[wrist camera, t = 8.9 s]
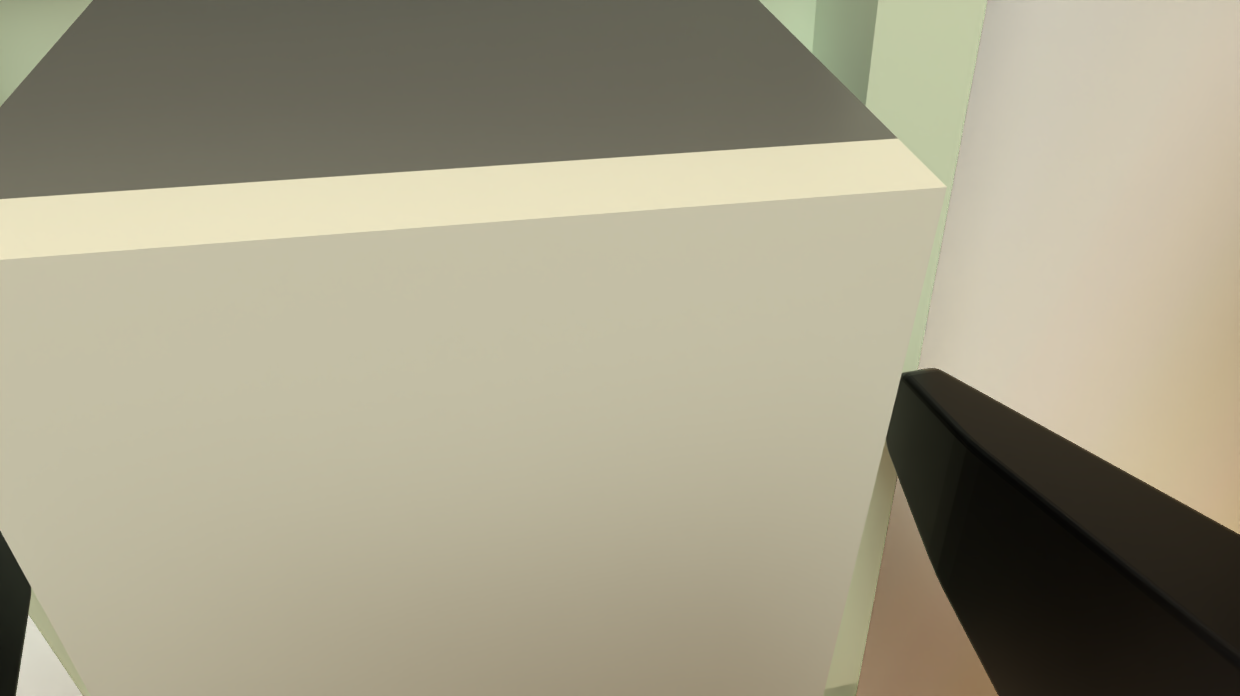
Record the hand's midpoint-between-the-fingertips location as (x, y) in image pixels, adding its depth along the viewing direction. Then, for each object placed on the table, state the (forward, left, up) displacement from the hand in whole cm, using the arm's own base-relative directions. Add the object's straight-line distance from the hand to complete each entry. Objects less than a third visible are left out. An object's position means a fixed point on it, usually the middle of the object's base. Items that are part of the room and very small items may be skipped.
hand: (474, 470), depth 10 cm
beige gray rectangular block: (0, 0, -2) cm, 2 cm away
